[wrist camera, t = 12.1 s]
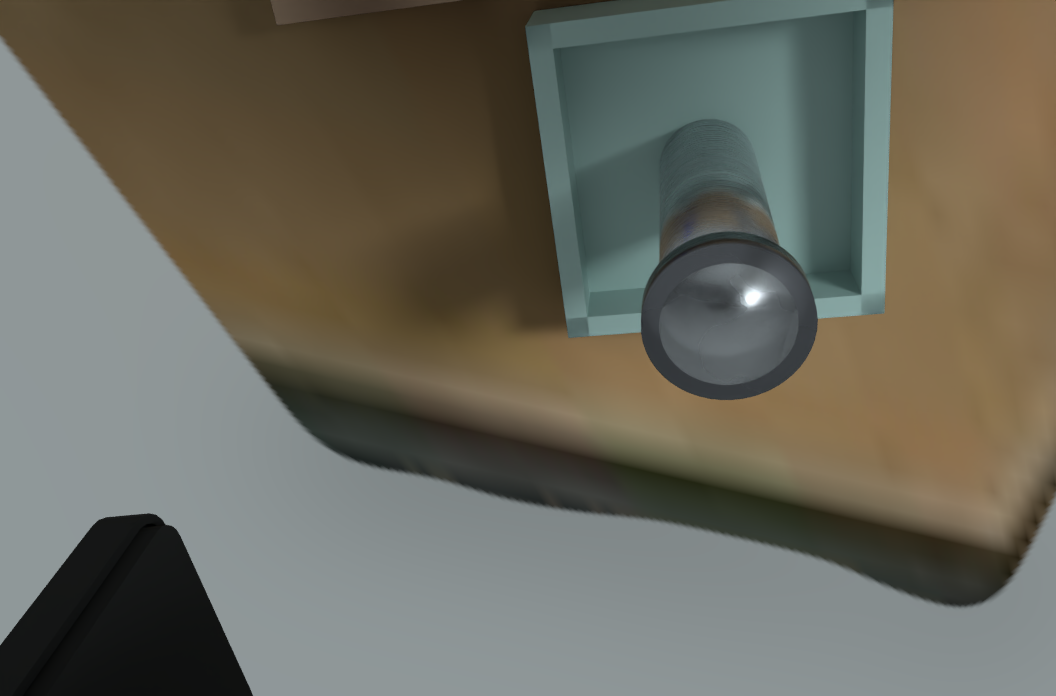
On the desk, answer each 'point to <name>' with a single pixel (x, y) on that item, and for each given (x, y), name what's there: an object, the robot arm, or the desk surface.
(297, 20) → the socket
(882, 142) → the tray
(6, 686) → the robot arm
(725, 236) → the flashlight
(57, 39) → the desk surface
